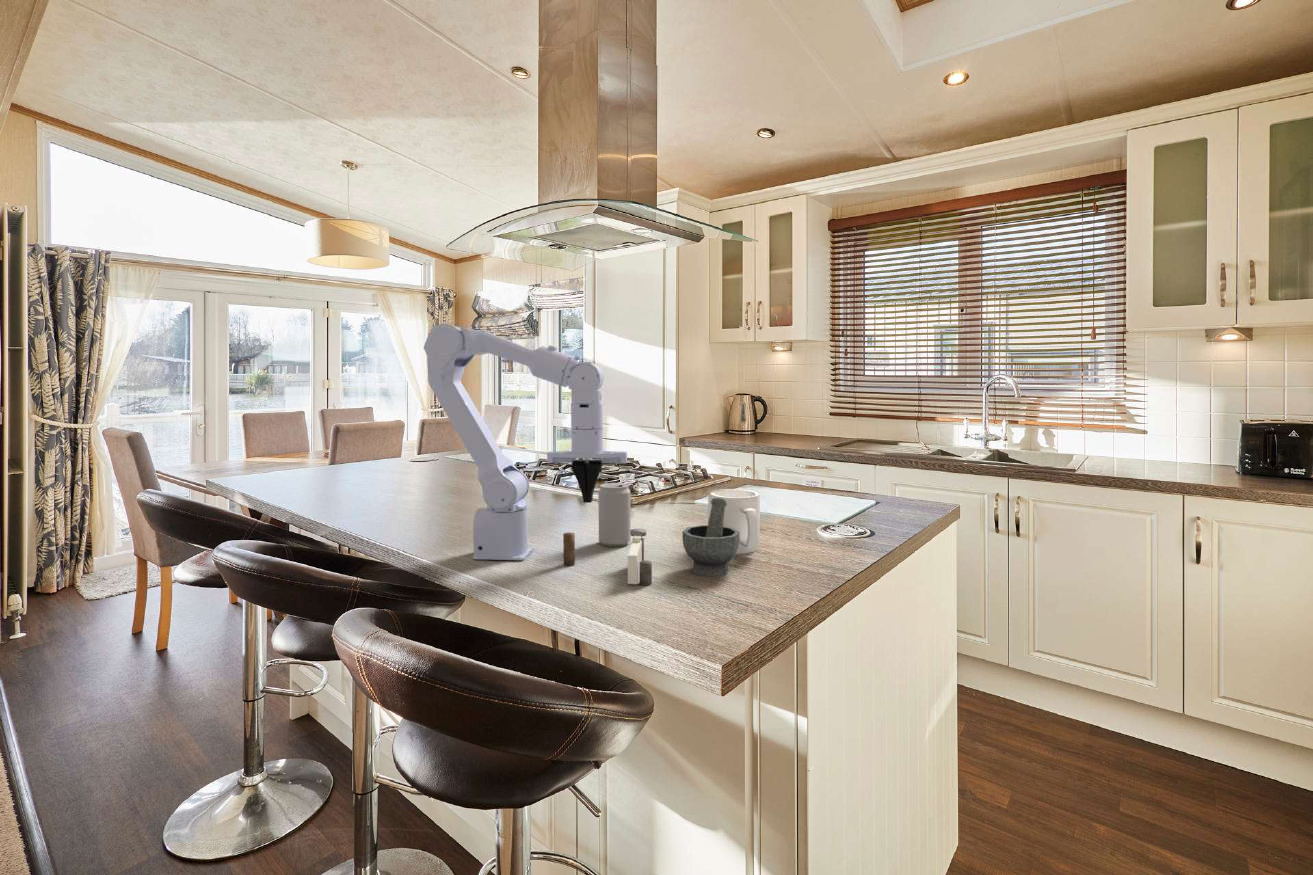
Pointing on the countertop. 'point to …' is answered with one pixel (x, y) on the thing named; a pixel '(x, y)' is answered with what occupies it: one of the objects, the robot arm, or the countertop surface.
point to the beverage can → (614, 514)
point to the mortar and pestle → (711, 542)
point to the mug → (740, 516)
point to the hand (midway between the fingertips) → (587, 501)
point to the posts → (569, 558)
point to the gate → (635, 555)
